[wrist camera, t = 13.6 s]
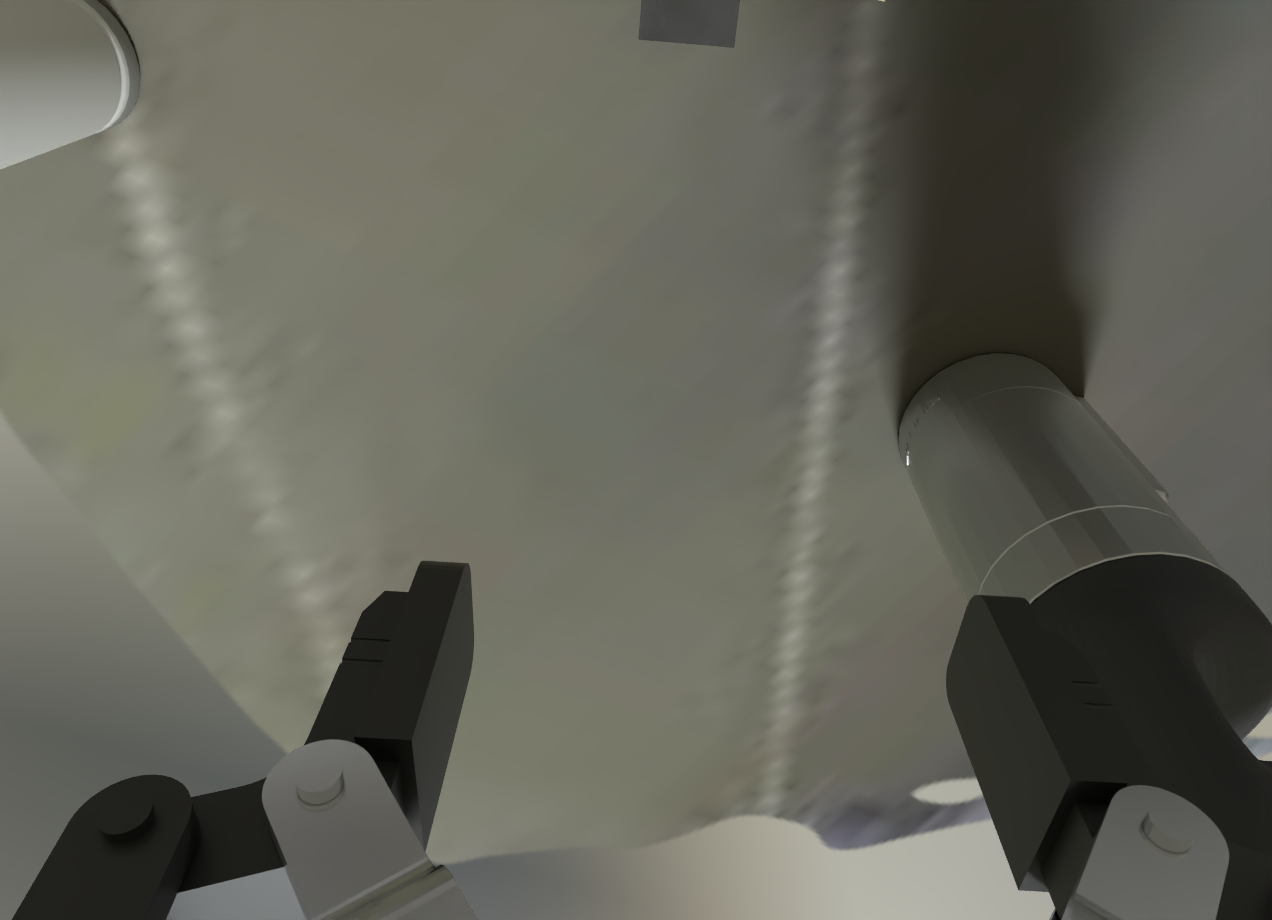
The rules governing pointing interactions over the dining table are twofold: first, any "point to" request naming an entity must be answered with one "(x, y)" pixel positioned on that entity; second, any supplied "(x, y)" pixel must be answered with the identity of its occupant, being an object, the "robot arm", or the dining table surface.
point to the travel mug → (61, 75)
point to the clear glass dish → (690, 21)
